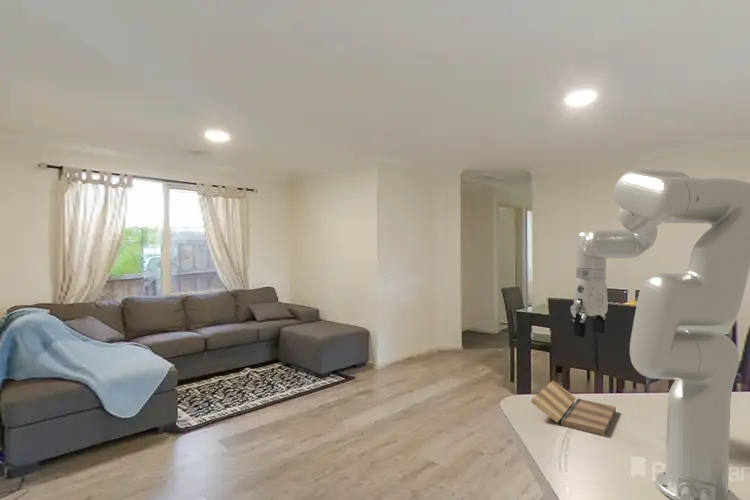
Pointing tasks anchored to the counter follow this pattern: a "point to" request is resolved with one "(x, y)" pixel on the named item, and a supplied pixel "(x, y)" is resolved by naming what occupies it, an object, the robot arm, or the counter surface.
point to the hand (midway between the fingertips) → (589, 334)
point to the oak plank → (553, 400)
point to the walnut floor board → (589, 416)
